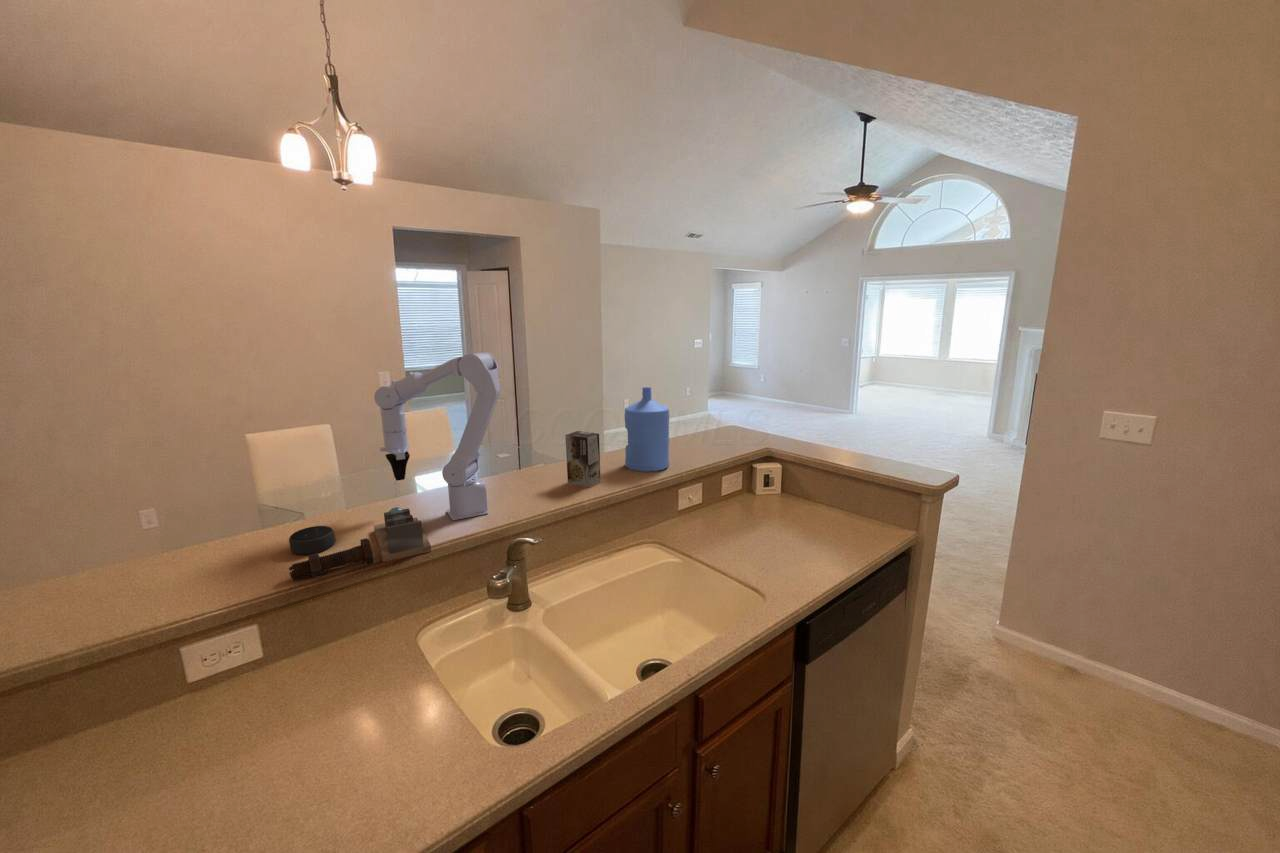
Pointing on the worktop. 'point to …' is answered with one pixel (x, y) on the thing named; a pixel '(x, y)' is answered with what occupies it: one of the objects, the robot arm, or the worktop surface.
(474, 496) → the robot arm
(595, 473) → the coffee box
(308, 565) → the bolt
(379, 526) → the bearing rig
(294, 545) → the smart speaker
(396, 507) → the shaft
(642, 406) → the water jug
